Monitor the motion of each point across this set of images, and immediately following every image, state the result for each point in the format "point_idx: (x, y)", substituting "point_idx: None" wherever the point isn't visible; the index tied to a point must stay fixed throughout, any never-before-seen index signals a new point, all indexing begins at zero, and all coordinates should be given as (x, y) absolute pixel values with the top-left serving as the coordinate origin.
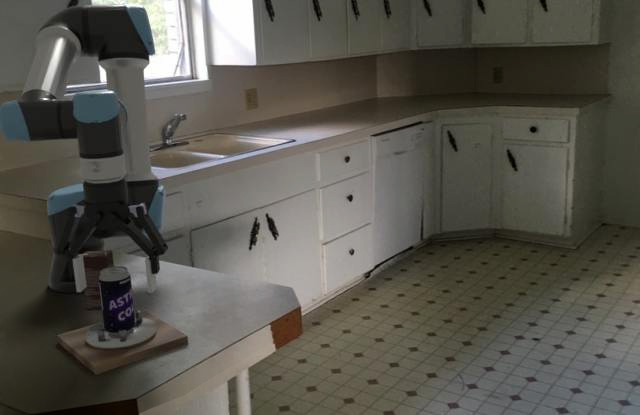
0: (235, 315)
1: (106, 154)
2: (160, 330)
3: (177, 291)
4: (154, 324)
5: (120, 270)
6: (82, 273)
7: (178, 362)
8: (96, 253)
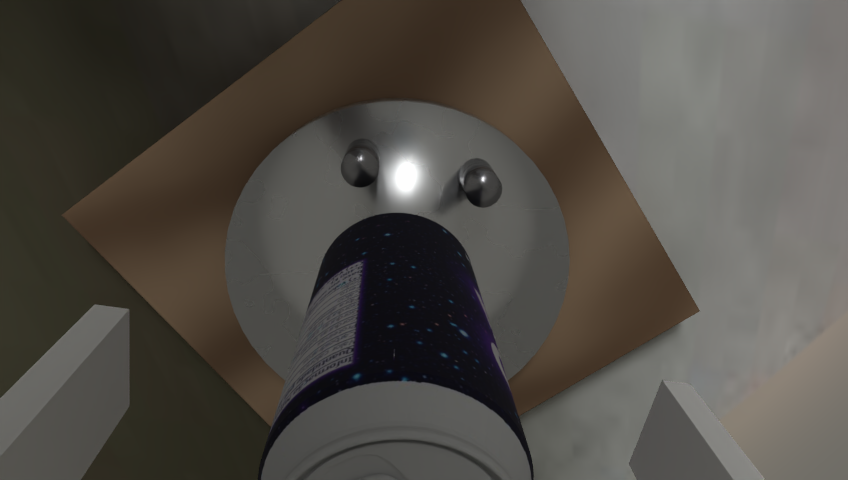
0: None
1: None
2: (579, 238)
3: None
4: (559, 229)
5: None
6: (58, 437)
7: (636, 437)
8: None
